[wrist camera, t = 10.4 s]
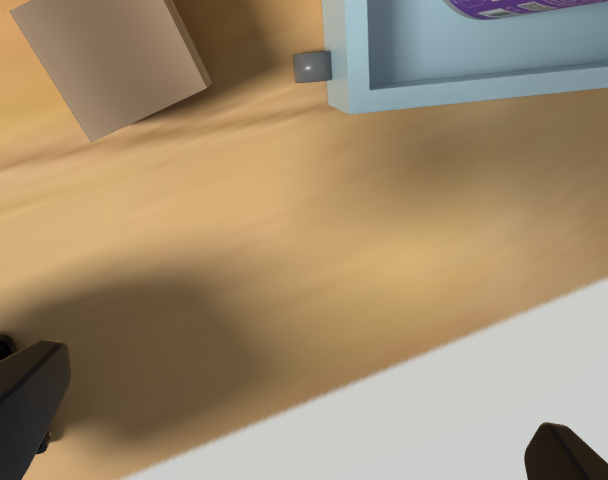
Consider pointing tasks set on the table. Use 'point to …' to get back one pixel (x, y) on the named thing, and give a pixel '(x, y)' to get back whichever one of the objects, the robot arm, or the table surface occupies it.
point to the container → (509, 7)
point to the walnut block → (113, 57)
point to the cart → (451, 54)
